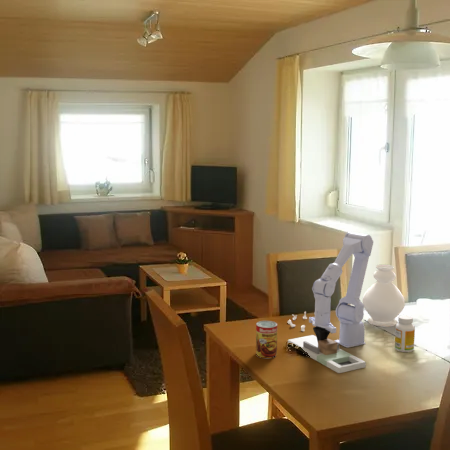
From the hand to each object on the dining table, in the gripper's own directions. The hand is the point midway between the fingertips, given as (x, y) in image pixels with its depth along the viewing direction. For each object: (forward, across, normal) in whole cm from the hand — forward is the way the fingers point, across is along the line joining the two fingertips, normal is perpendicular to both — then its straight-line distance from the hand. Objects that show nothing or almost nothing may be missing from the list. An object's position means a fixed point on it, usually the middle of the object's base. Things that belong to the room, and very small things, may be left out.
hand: (321, 345), depth 239 cm
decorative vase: (+3, -18, +46) cm, 50 cm away
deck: (+3, +2, 0) cm, 4 cm away
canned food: (+3, -9, -19) cm, 21 cm away
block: (+1, +4, 0) cm, 4 cm away
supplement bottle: (+3, +11, +31) cm, 33 cm away
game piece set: (+4, -30, +16) cm, 34 cm away
